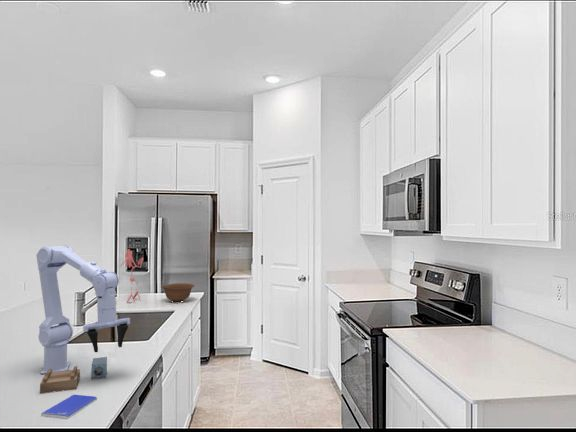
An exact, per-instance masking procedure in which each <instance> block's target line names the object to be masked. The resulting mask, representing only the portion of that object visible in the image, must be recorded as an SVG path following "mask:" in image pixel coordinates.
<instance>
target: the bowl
mask: <svg viewBox="0 0 576 432" xmlns="http://www.w3.org/2000/svg"><path fill="white" fill-rule="evenodd" d="M160 288H162V289H163V290H164V293H165V297H166V298H167V299H168V300H170V301H173V302H181V301H184V302H185V300H186V299H188V298H189V297H190V295H191V291H192V289H193V288H195V284H193V283H182V282H181V283H180V282H179V283H177V282H176V283H169V284H165V285H161V286H160Z"/></svg>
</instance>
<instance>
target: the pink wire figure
mask: <svg viewBox="0 0 576 432" xmlns="http://www.w3.org/2000/svg"><path fill="white" fill-rule="evenodd" d="M126 252H127V253H125V254H124V256H125V259H124V261H123V262H122V263H121V264H120V266H122V265H124V264H125V266H128V268H129V269H130V268H131V267H132V268H131V270H130V271H131V273H130V279H129V280H130V283H131V284H133V282H136V285H138V284H139V282H138V281H137V280H135V278H134V277H133V270H134V269H136V268H142V264H143V262H144V259H145V258H144V257H141V258H140V259H138V261H137V264H136V263H135V261H134V258H133V250H131V249H130V248H128V249H127V251H126ZM132 263H133V264H132ZM133 265H134V266H133ZM130 291H131V292H130V295H129V298H128V299H127V301H126V303H128V302H130V300H131V298H132V300H133V302H134V303H135V302H136V300H135V299H136V298H137V296H138V299H139V300H140V299H141V297H140V294H139V291H138V290H136V291H135V294H134V295H133V293H132V291H133V288H131V290H130Z"/></svg>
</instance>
